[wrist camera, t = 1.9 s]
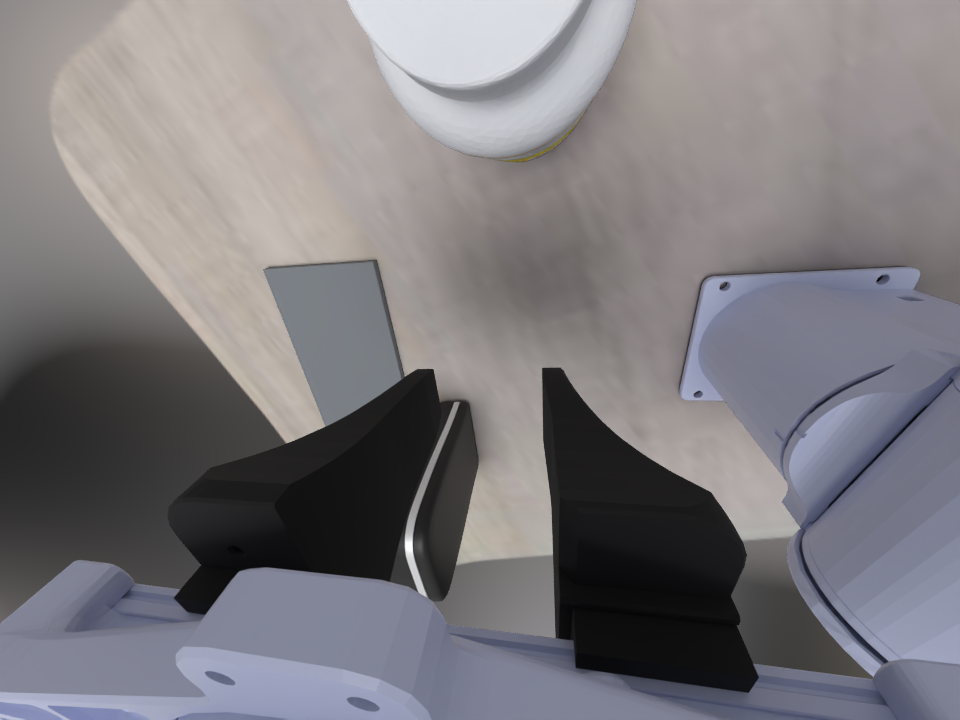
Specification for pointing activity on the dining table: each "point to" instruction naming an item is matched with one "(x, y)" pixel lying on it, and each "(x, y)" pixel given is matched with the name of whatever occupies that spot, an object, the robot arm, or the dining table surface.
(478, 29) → the supplement bottle
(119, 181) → the dining table surface
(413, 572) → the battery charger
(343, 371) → the mat
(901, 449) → the robot arm
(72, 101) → the dining table surface
